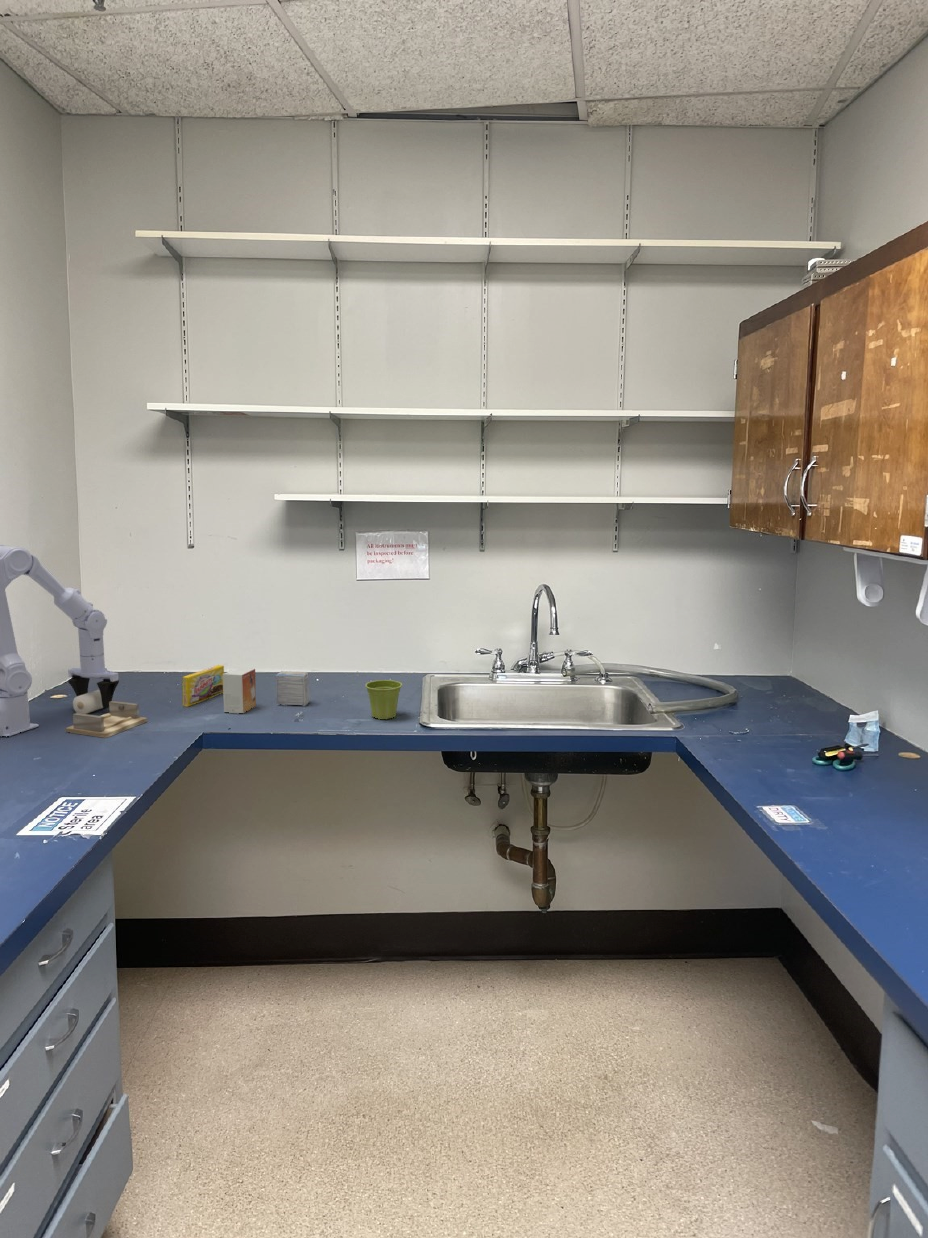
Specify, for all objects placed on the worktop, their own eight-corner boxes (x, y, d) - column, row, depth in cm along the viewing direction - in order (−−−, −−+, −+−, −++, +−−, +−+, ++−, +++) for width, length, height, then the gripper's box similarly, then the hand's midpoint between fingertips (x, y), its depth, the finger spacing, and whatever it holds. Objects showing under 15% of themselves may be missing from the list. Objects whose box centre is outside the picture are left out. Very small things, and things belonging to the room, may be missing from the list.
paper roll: (90, 712, 208) (84, 693, 208) (76, 717, 210) (70, 698, 210) (113, 704, 216) (107, 686, 216) (100, 709, 218) (93, 691, 217)
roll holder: (106, 737, 191) (105, 719, 190) (65, 732, 195) (64, 714, 194) (147, 721, 204) (146, 704, 203) (108, 716, 208) (107, 699, 207)
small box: (243, 714, 212) (241, 675, 210) (223, 713, 213) (221, 673, 211) (256, 706, 219) (255, 668, 218) (237, 705, 220) (236, 667, 219)
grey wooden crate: (309, 702, 224) (309, 671, 223) (304, 706, 220) (304, 675, 218) (281, 701, 225) (280, 670, 223) (276, 705, 220) (275, 674, 219)
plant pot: (396, 723, 206) (396, 690, 204) (360, 720, 208) (360, 687, 206) (406, 713, 215) (406, 681, 214) (372, 710, 217) (371, 679, 215)
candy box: (189, 707, 218) (187, 677, 216) (182, 706, 218) (181, 676, 217) (225, 693, 233) (224, 664, 231) (218, 692, 233) (217, 664, 232)
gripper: (125, 653, 212) (128, 704, 214) (81, 649, 216) (84, 699, 219) (105, 659, 205) (109, 711, 207) (60, 654, 210) (64, 705, 212)
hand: (95, 705), depth 213 cm, fingers open, 7 cm apart
